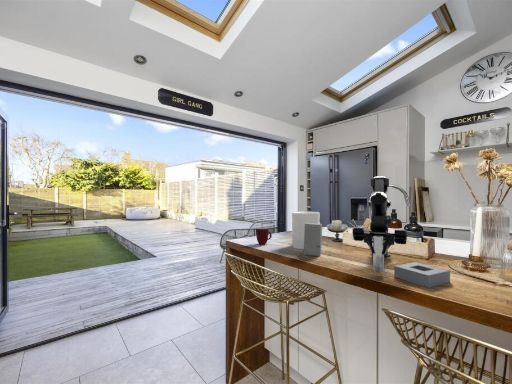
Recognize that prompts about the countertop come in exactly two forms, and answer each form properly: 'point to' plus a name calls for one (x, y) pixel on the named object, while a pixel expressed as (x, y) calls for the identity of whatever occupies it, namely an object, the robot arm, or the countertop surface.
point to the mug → (263, 235)
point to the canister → (302, 226)
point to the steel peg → (378, 253)
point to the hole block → (422, 274)
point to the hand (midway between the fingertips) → (378, 254)
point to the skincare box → (313, 239)
